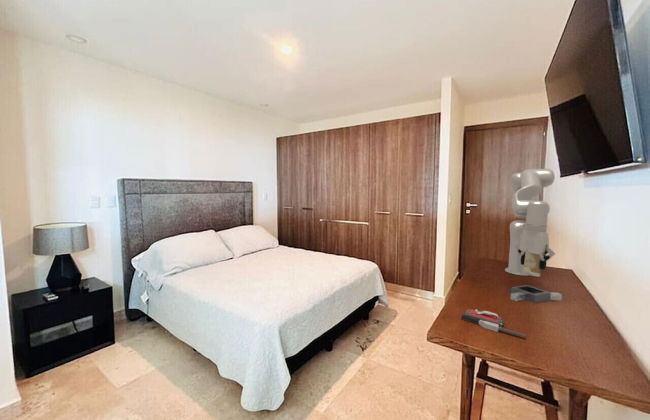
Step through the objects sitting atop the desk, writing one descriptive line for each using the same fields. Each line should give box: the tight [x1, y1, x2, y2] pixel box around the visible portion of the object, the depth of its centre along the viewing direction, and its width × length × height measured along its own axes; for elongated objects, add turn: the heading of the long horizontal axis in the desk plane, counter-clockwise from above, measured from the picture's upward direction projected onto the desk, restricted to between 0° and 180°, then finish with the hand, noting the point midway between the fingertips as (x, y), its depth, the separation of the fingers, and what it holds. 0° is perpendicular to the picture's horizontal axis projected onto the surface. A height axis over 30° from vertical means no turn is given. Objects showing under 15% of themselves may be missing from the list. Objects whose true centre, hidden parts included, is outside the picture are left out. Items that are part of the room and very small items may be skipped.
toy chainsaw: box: [461, 308, 527, 338], centre depth 99 cm, size 9×4×20 cm
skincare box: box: [523, 248, 542, 278], centre depth 125 cm, size 6×4×12 cm
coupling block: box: [510, 284, 563, 304], centre depth 126 cm, size 23×13×4 cm, turn 111°
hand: (532, 266), depth 126 cm, fingers closed on skincare box, 7 cm apart
